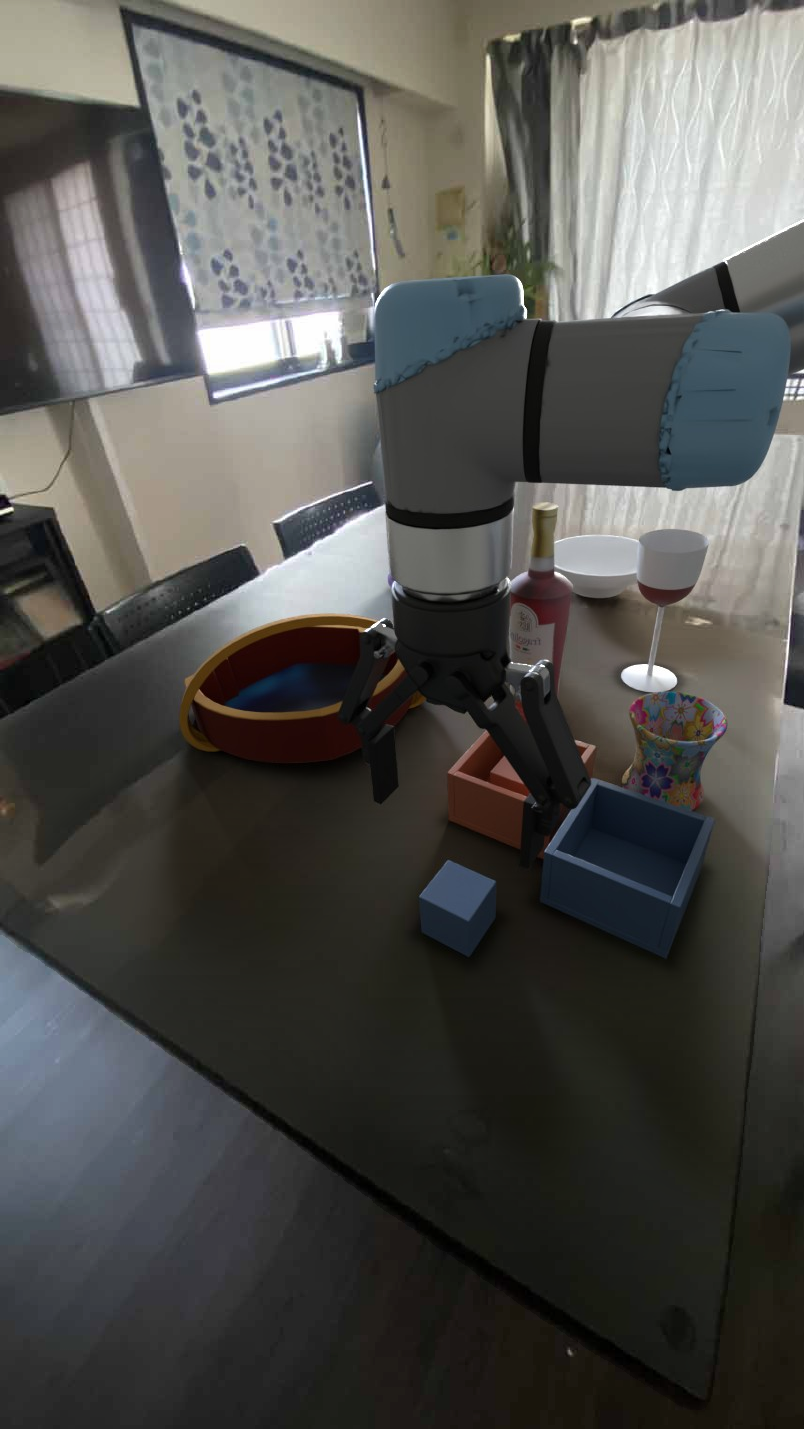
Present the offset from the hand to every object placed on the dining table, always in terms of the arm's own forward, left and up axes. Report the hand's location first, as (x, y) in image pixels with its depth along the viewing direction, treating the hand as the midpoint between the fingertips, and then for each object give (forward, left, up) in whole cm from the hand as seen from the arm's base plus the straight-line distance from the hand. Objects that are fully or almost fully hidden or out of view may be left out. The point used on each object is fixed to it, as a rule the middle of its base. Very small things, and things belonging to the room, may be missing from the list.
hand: (454, 823), depth 52 cm
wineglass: (-2, -50, -13) cm, 51 cm away
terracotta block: (+2, -17, -12) cm, 21 cm away
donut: (+46, -62, -13) cm, 78 cm away
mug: (-10, -28, -13) cm, 32 cm away
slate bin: (-11, -12, -13) cm, 21 cm away
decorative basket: (+34, -19, -13) cm, 41 cm away
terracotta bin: (+2, -17, -13) cm, 21 cm away
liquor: (+8, -33, -13) cm, 36 cm away
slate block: (0, 0, -13) cm, 13 cm away
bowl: (+15, -75, -13) cm, 77 cm away
